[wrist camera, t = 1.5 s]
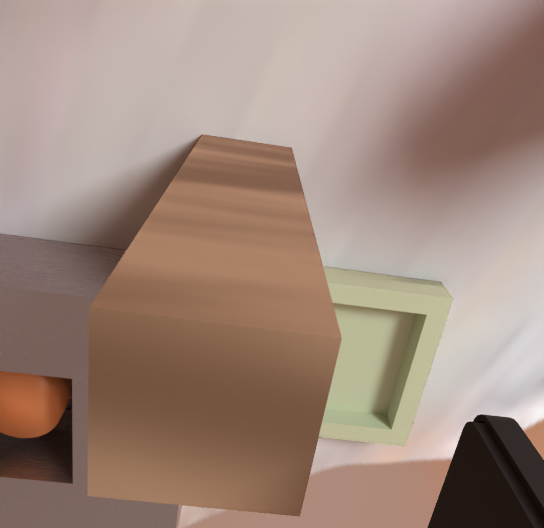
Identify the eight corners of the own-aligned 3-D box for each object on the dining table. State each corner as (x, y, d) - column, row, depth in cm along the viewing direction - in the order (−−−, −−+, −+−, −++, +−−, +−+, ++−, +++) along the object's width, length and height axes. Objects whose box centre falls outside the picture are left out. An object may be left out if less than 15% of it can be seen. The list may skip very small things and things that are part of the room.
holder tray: (263, 258, 25) (263, 274, 23) (440, 282, 26) (453, 298, 24) (240, 406, 29) (238, 428, 27) (397, 423, 29) (405, 446, 28)
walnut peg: (202, 134, 23) (89, 307, 8) (291, 147, 23) (341, 338, 8) (194, 219, 24) (86, 495, 10) (277, 231, 24) (299, 516, 10)
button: (-8, 340, 25) (-30, 364, 23) (75, 350, 25) (61, 374, 23) (-3, 406, 26) (-23, 433, 25) (76, 414, 27) (62, 442, 25)
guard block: (-133, 216, 24) (-227, 258, 19) (210, 261, 25) (199, 310, 20) (-93, 447, 29) (-159, 522, 25) (187, 475, 31) (173, 551, 26)
